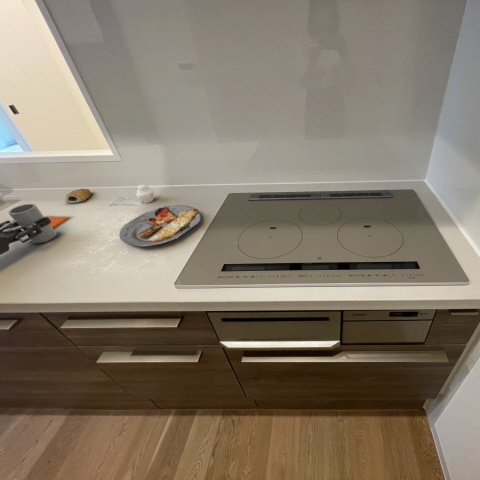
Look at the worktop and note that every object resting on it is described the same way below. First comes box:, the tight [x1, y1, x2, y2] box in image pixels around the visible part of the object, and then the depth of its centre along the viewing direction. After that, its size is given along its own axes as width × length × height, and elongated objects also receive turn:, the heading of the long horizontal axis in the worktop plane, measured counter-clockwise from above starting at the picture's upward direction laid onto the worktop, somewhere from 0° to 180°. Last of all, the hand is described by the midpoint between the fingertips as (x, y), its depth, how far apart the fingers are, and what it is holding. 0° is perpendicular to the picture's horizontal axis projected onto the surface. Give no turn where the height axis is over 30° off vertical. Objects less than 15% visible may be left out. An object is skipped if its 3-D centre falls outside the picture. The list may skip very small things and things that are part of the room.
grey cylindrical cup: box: [8, 203, 58, 244], centre depth 84 cm, size 6×6×11 cm
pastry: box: [64, 188, 92, 204], centre depth 109 cm, size 9×7×4 cm
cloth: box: [21, 215, 70, 231], centre depth 94 cm, size 9×9×1 cm
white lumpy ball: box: [135, 184, 155, 204], centre depth 105 cm, size 6×6×7 cm
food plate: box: [118, 204, 202, 247], centre depth 90 cm, size 25×23×4 cm
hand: (40, 218), depth 85 cm, fingers closed on grey cylindrical cup, 6 cm apart
